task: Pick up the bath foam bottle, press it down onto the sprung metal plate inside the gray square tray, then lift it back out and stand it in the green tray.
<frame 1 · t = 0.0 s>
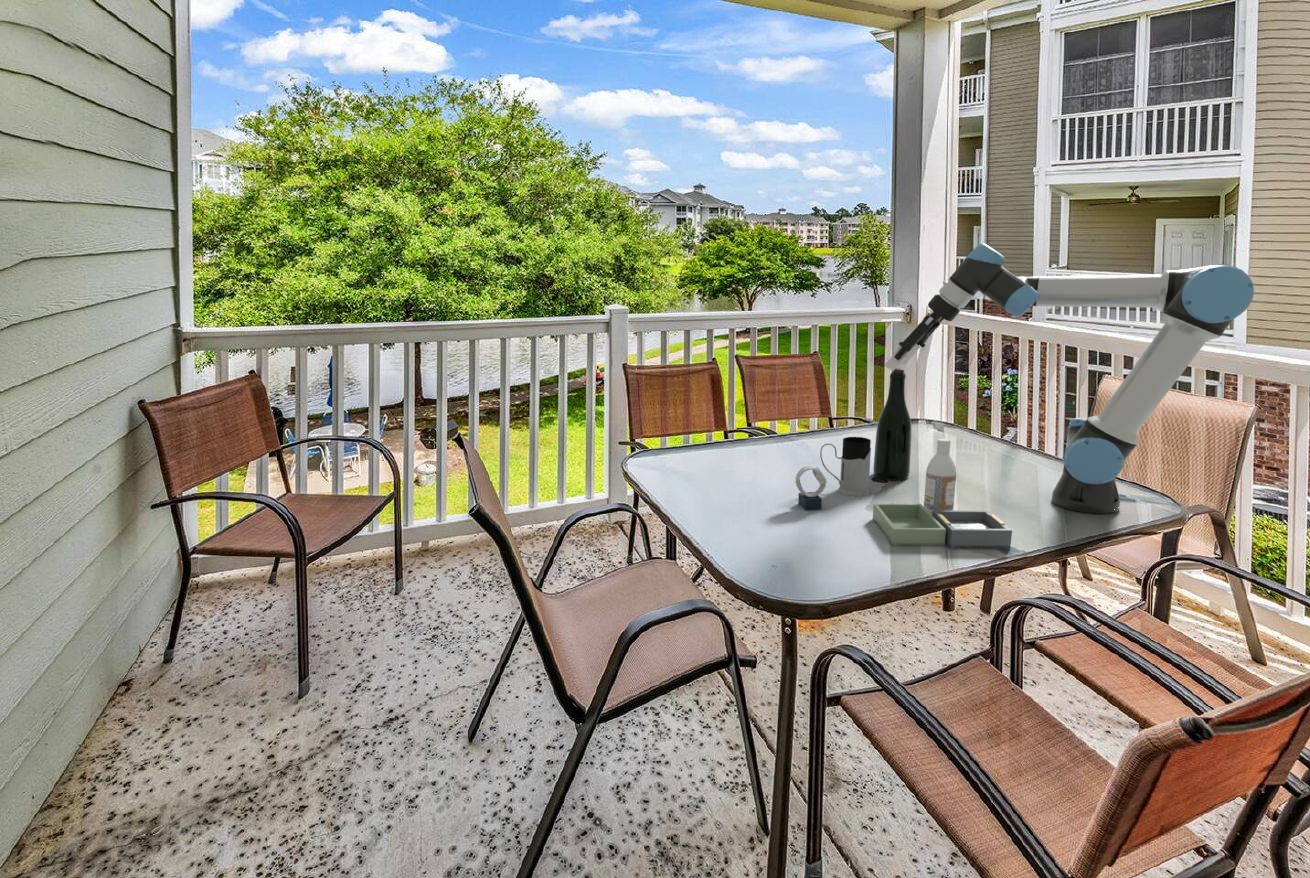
hand: (894, 365, 184), 36 cm above the table, tool tilted 35°, fingers open, 13 cm apart
green tray: (906, 531, 163), on the table
wine bottle: (890, 476, 207), on the table
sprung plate: (969, 530, 157), point 2 cm above the table, slide at 0.0 cm
watch: (809, 507, 181), on the table
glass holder: (844, 491, 194), on the table
bath foam: (937, 516, 173), on the table
gray square tray: (968, 538, 158), on the table
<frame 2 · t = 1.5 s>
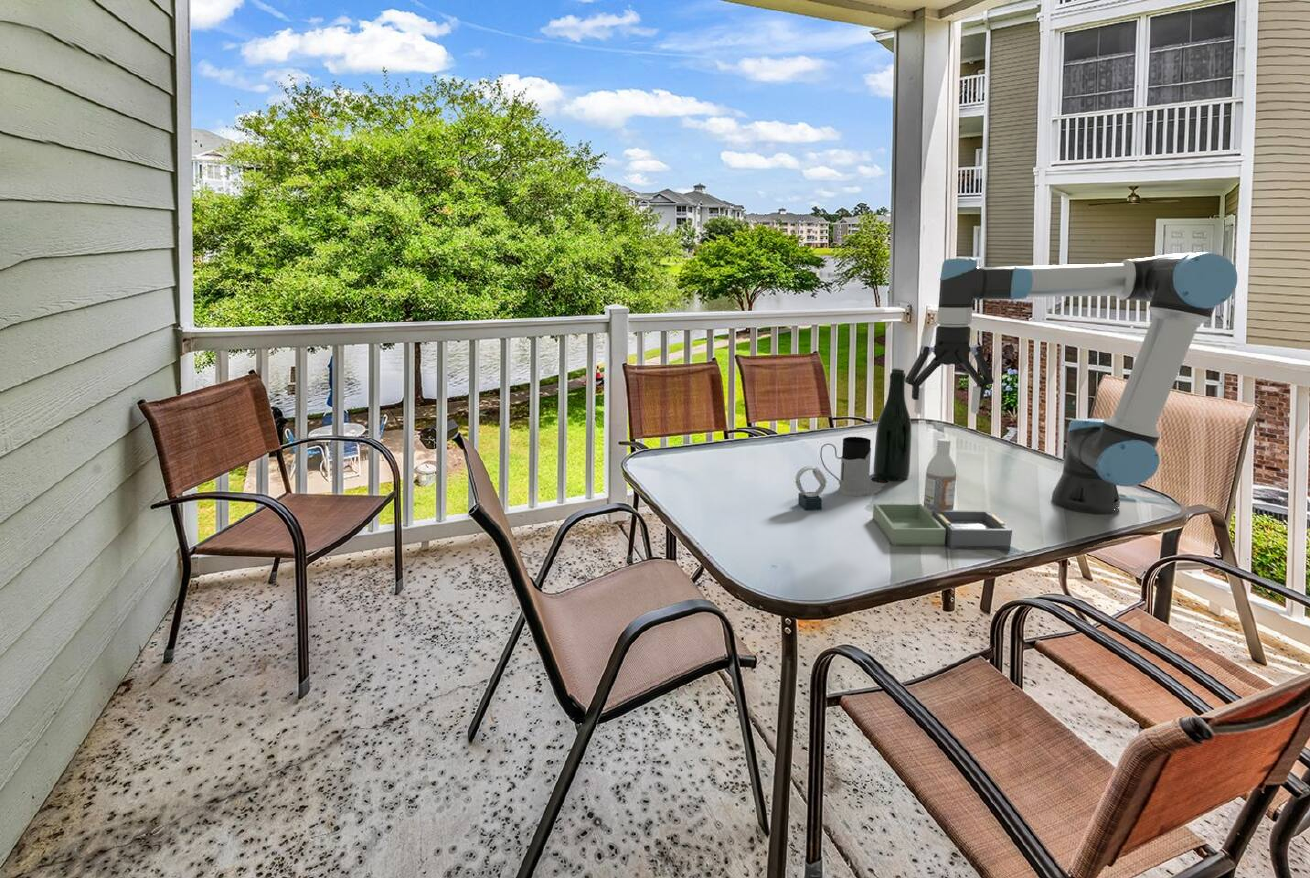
hand: (945, 412, 166), 27 cm above the table, tool pointing down, fingers open, 13 cm apart
nothing on the table moved.
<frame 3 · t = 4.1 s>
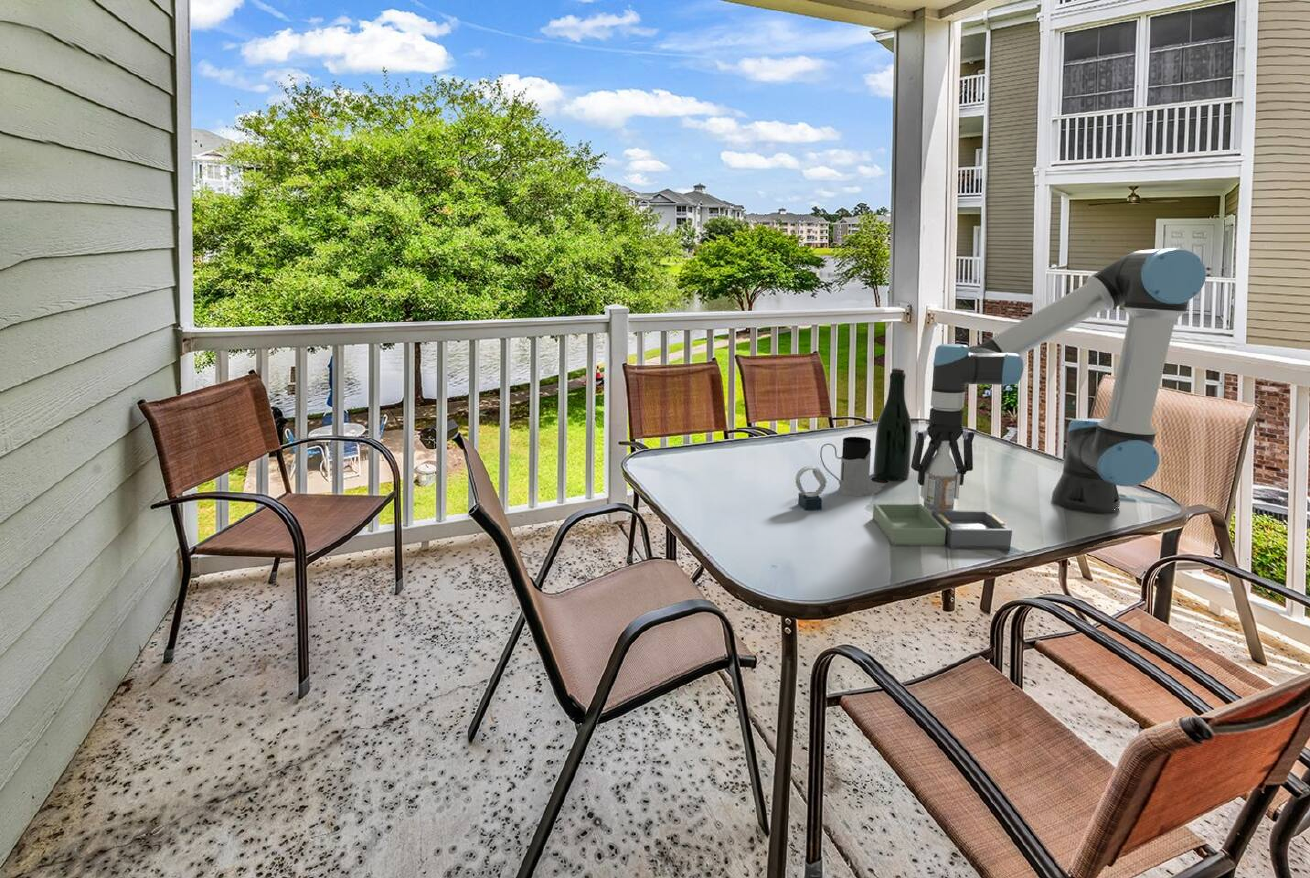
hand: (939, 497, 171), 5 cm above the table, tool pointing down, fingers closed on bath foam, 7 cm apart
bath foam: (937, 516, 173), on the table, touching gripper
everything else where it was.
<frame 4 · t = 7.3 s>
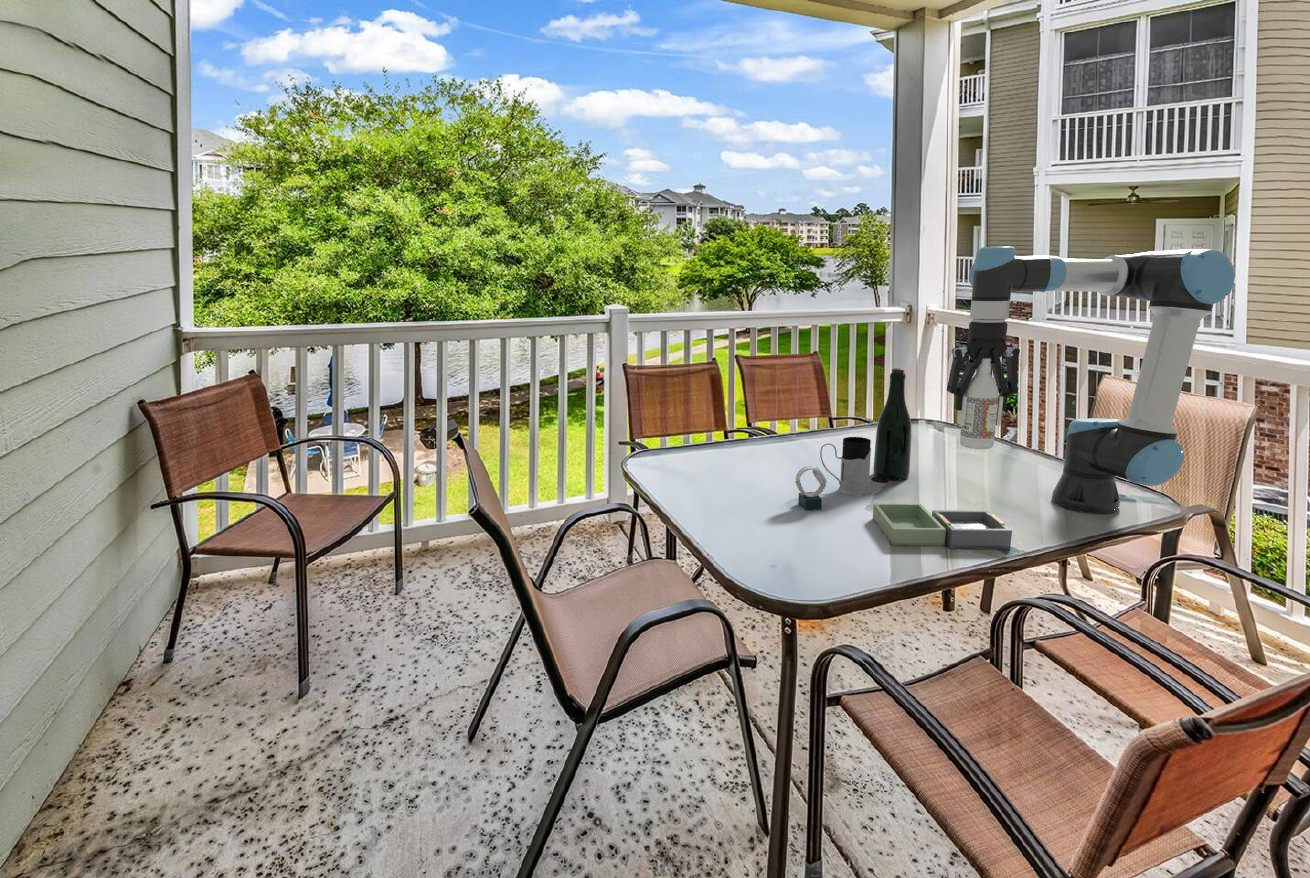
hand: (978, 424, 152), 27 cm above the table, tool pointing down, fingers closed on bath foam, 7 cm apart
bath foam: (976, 447, 153), point 22 cm above the table, touching gripper
everything else where it was.
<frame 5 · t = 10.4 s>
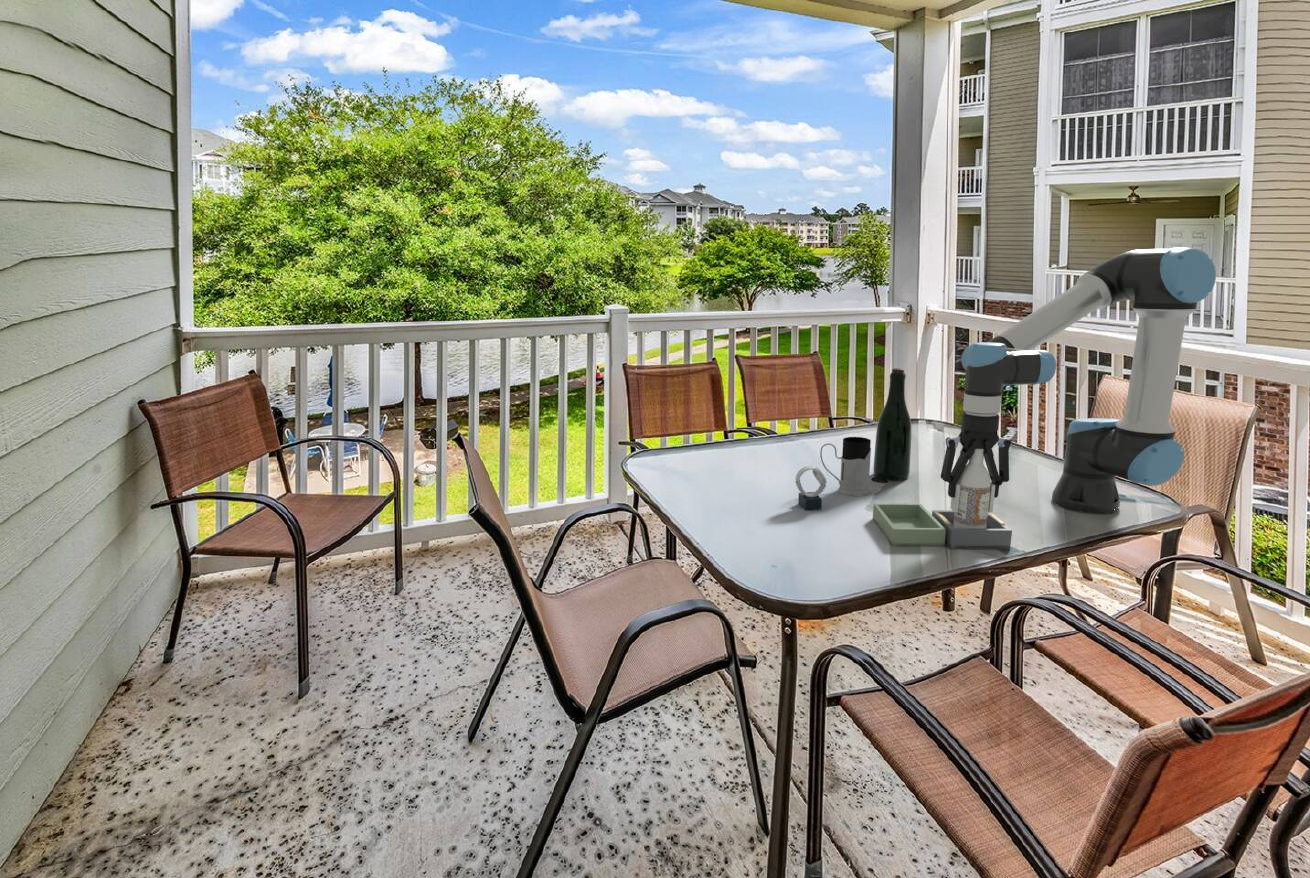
hand: (971, 510, 156), 7 cm above the table, tool pointing down, fingers closed on bath foam, 7 cm apart
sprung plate: (969, 532, 158), point 1 cm above the table, slide at -0.6 cm, touching bath foam
bath foam: (969, 531, 157), point 2 cm above the table, touching gripper, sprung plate
everything else where it was.
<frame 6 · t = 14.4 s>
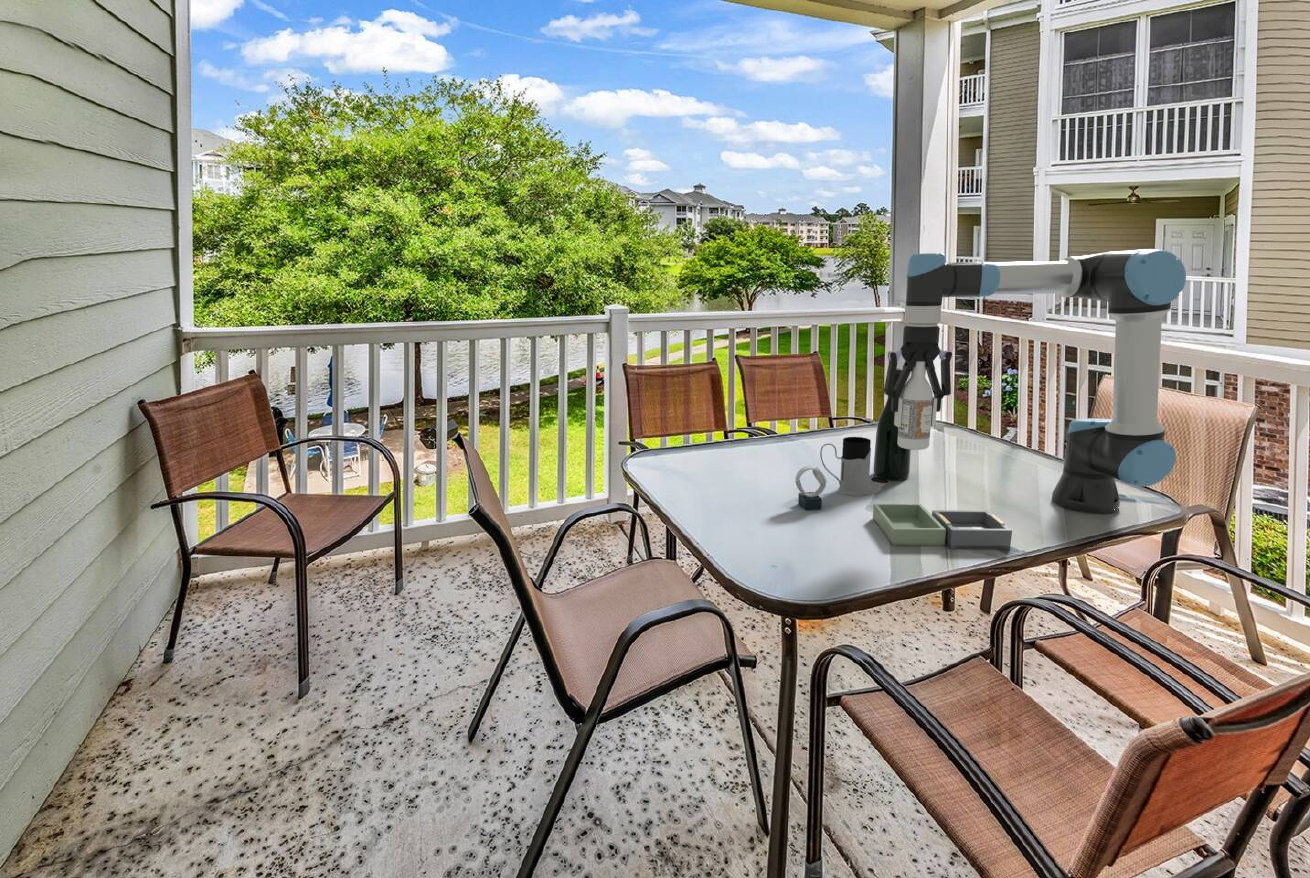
hand: (914, 425, 156), 26 cm above the table, tool pointing down, fingers closed on bath foam, 7 cm apart
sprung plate: (969, 532, 158), point 1 cm above the table, slide at -0.6 cm
bath foam: (912, 447, 158), point 21 cm above the table, touching gripper
everything else where it was.
when the fingers open (7 cm above the table, at t = 18.0 s): bath foam drops 2 cm, resting on green tray.
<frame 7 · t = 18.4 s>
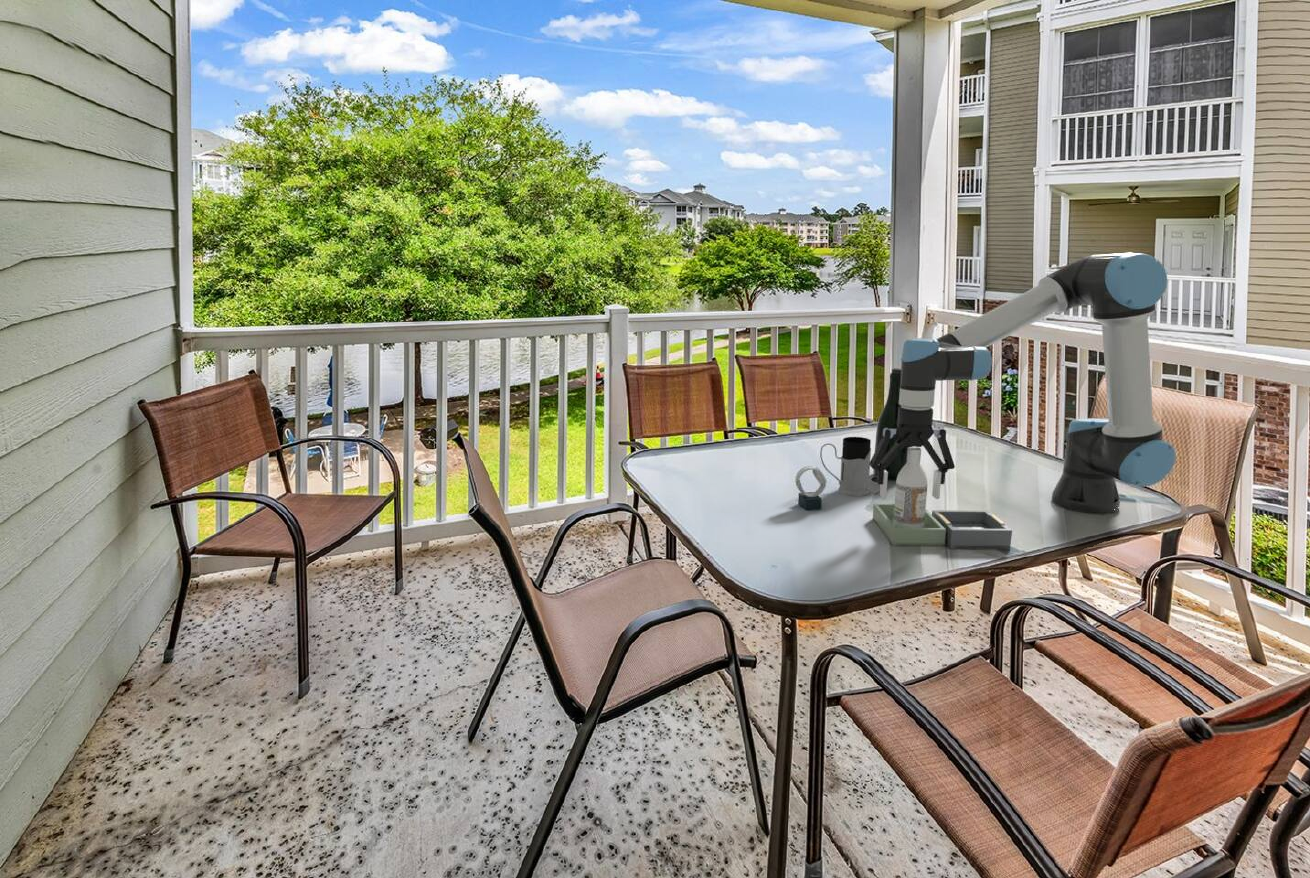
hand: (909, 497, 160), 9 cm above the table, tool pointing down, fingers open, 11 cm apart
bath foam: (908, 530, 162), resting on green tray
everything else where it was.
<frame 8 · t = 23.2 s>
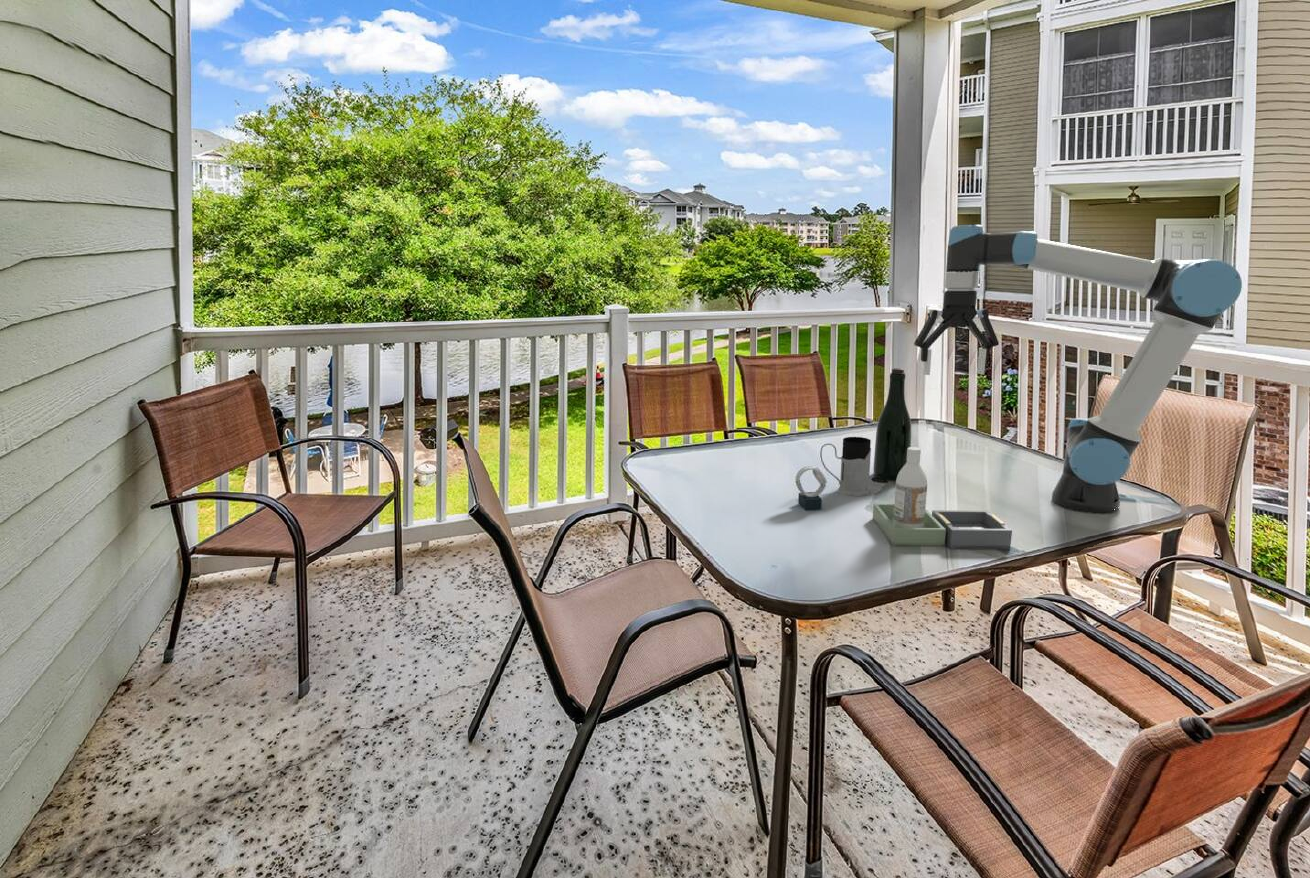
hand: (953, 374, 175), 35 cm above the table, tool pointing down, fingers open, 13 cm apart
nothing on the table moved.
at the end: bath foam inside the target area on the green tray (0.3 cm from its centre), point 0.4 cm above the green tray's base; bath foam tilted 0°; the gripper is holding nothing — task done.
